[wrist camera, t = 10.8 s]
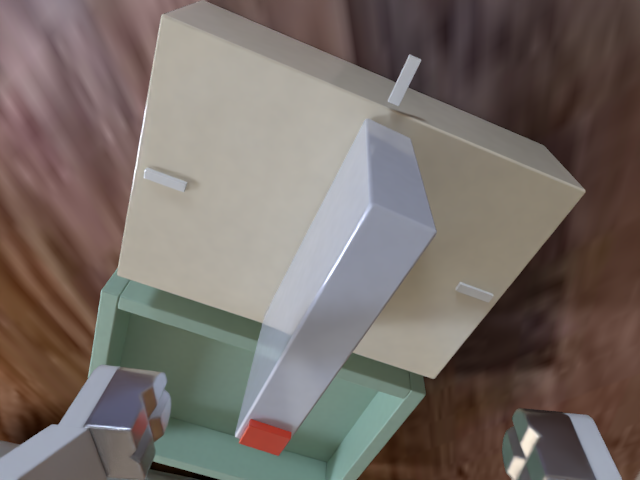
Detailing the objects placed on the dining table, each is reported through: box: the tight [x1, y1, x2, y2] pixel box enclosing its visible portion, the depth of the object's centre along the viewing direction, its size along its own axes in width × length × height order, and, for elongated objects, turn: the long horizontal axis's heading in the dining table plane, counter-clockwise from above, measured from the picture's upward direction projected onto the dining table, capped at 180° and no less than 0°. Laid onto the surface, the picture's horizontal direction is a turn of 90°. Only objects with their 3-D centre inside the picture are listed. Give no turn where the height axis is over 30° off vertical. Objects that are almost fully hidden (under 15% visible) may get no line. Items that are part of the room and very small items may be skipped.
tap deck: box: [117, 0, 586, 379], centre depth 18 cm, size 14×13×4 cm
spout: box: [235, 119, 437, 456], centre depth 14 cm, size 9×2×6 cm, turn 156°
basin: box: [88, 268, 426, 480], centre depth 25 cm, size 16×12×3 cm
